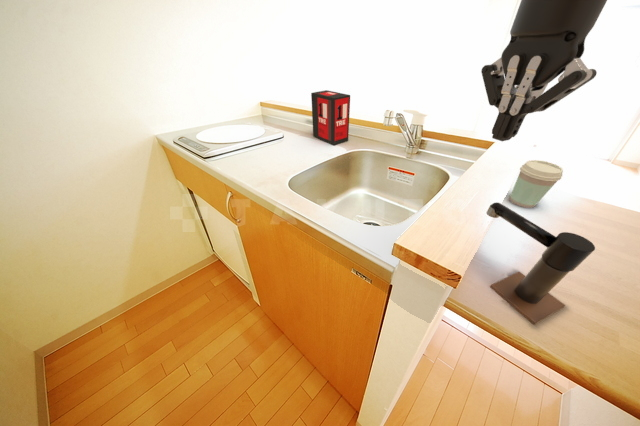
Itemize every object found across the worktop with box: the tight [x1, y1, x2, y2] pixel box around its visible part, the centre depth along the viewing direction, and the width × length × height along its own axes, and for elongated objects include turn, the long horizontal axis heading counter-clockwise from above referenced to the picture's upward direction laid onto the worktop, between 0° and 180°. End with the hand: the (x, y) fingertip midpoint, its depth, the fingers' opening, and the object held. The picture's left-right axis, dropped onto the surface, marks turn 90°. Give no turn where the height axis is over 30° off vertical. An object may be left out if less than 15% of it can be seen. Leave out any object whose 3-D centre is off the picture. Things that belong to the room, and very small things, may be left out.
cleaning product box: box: [310, 89, 351, 146], centre depth 107 cm, size 16×9×20 cm, turn 37°
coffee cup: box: [508, 159, 564, 209], centre depth 62 cm, size 9×8×12 cm
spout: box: [486, 201, 596, 272], centre depth 39 cm, size 15×4×4 cm, turn 17°
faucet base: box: [489, 256, 571, 326], centre depth 39 cm, size 8×8×10 cm
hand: (501, 139), depth 35 cm, fingers closed
